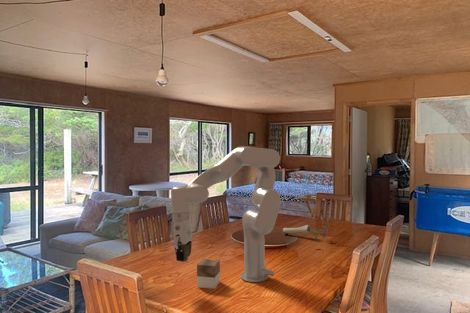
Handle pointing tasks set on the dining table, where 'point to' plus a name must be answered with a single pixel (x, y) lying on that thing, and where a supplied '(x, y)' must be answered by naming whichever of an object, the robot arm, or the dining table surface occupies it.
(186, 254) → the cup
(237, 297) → the dining table surface
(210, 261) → the walnut block
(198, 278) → the cream block
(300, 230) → the flower vase
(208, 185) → the robot arm
